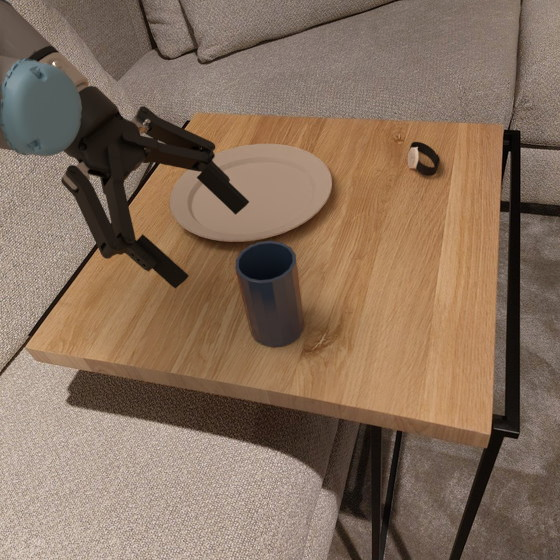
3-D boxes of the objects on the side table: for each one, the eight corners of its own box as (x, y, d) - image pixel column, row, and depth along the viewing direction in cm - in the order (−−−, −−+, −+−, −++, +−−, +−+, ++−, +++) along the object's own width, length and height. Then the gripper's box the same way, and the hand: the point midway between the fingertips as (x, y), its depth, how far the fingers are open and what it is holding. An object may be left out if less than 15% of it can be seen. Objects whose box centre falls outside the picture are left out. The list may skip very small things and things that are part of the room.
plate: (214, 147, 105) (212, 137, 104) (352, 161, 97) (352, 151, 95) (142, 236, 89) (139, 226, 87) (300, 264, 80) (299, 253, 79)
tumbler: (241, 340, 72) (225, 276, 64) (263, 301, 76) (250, 236, 68) (293, 352, 69) (282, 287, 62) (312, 312, 74) (304, 246, 66)
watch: (402, 155, 96) (402, 136, 94) (430, 150, 96) (431, 131, 94) (415, 181, 91) (416, 161, 88) (445, 176, 91) (447, 156, 88)
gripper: (-13, 152, 52) (166, 308, 57) (148, 37, 68) (279, 168, 72) (-25, 190, 58) (138, 329, 63) (126, 77, 73) (249, 195, 78)
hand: (214, 243), depth 67 cm, fingers open, 13 cm apart
